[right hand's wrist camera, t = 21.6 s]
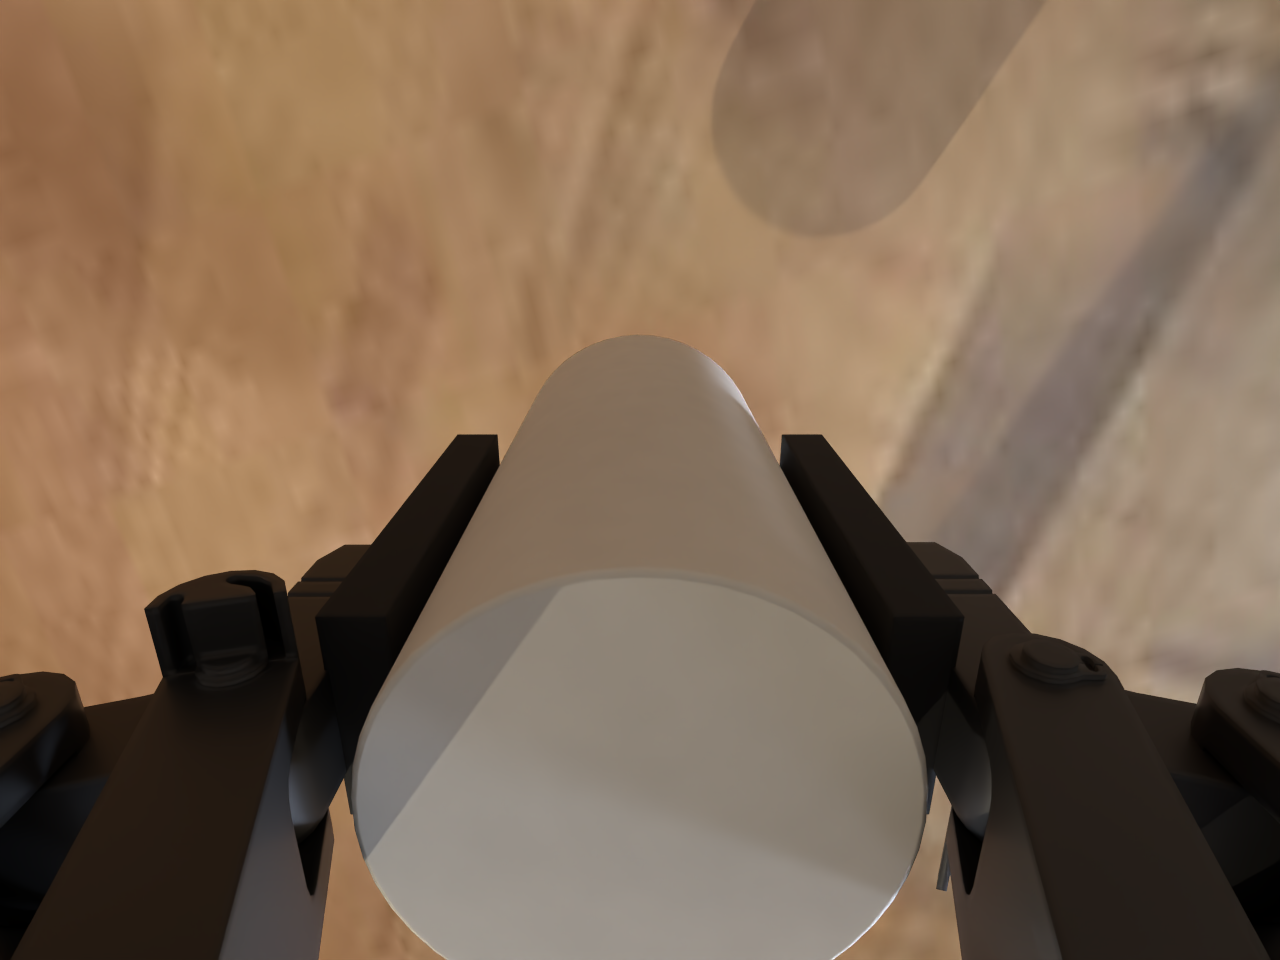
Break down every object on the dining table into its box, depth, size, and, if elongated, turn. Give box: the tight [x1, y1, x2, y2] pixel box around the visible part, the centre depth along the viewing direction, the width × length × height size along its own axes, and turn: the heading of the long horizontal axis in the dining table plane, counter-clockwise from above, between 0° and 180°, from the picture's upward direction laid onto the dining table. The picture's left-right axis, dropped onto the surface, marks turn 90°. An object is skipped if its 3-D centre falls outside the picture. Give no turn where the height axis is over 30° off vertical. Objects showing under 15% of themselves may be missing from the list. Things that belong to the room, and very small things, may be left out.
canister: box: [351, 335, 928, 960], centre depth 12 cm, size 5×5×11 cm
